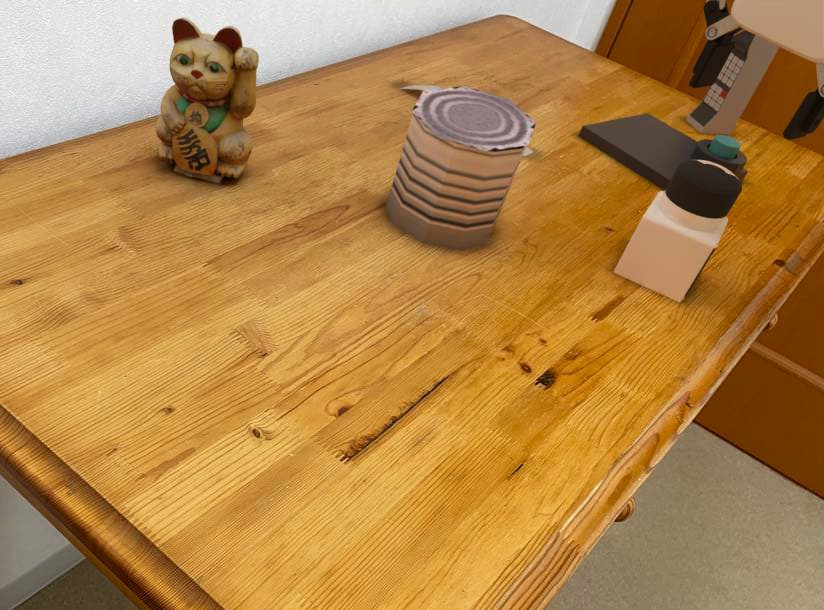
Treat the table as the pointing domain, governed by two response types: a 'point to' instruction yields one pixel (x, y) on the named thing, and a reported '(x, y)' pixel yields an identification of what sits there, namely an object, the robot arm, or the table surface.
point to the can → (457, 166)
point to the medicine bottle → (681, 229)
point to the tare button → (724, 146)
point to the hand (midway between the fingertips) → (745, 110)
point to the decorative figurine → (208, 103)
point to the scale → (654, 147)
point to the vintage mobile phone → (733, 85)
